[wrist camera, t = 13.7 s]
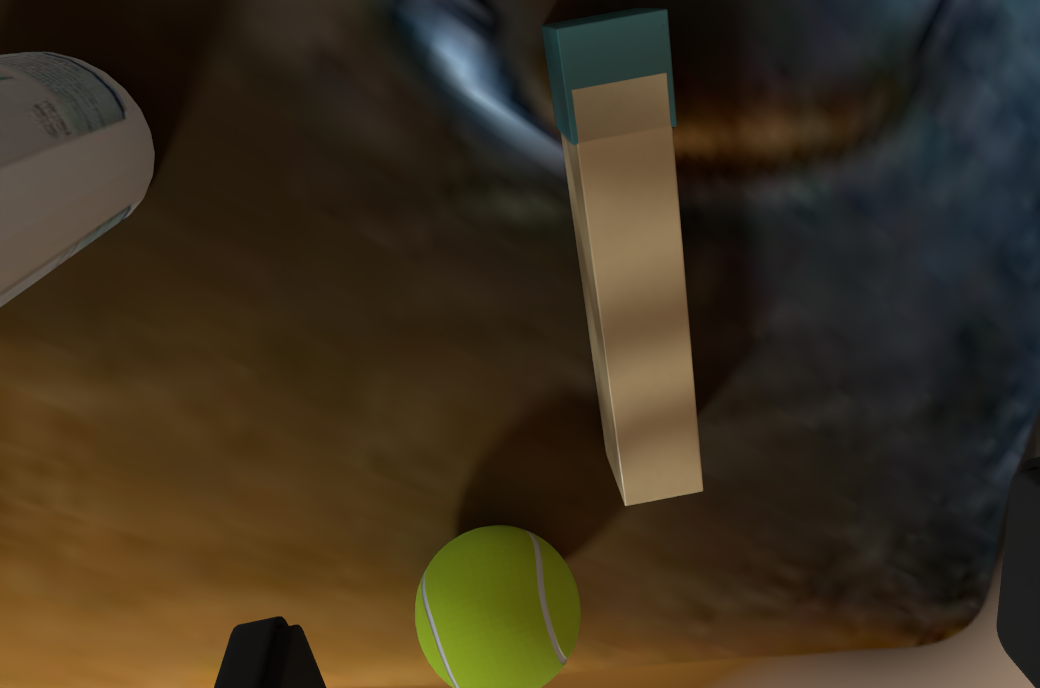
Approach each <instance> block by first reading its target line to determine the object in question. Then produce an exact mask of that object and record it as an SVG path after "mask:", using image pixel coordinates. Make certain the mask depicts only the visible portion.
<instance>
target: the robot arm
mask: <svg viewBox="0 0 1040 688" xmlns="http://www.w3.org/2000/svg"><path fill="white" fill-rule="evenodd" d="M997 632H998V637H999V639H1000V642H1001V644H1002V646H1003V648H1004V650H1005V651H1006V653H1007V654H1008V655H1009V657H1010V658H1011V659H1012V660H1013V662H1014V663H1015V664H1016V665H1017V666H1018V668H1019V669H1020V670H1021V671H1022V672H1023V673H1024V675H1025V676H1026V677H1027V678H1028V679H1029V680H1030V682H1031V683H1032V684H1033V685H1034V687H1035V688H1040V457H1036V458H1032V459H1029V460H1026V461H1025V462H1024V463H1023V465H1022V467H1021V471H1020V473H1017V474H1015V475H1014V476H1013V477H1012V481H1011V487H1010V496H1009V506H1008V516H1007V526H1006V536H1005V547H1004V556H1003V566H1002V576H1001V586H1000V596H999V606H998V616H997ZM214 688H326V686H325V683H324V681H323V678H322V676H321V673H320V671H319V668H318V666H317V663H316V661H315V659H314V656H313V654H312V651H311V649H310V646H309V644H308V641H307V639H306V636H305V634H304V631H303V629H302V628H301V626H300V625H292V626H288V624H287V622H286V620H285V619H284V618H283V617H279V616H278V617H273V618H269V619H264V620H259V621H254V622H250V623H245V624H240V625H237V626H236V627H235V628H234V629H233V631H232V633H231V636H230V639H229V642H228V645H227V648H226V651H225V655H224V658H223V661H222V664H221V667H220V670H219V674H218V677H217V680H216V683H215V686H214Z"/></svg>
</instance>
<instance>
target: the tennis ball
mask: <svg viewBox="0 0 1040 688" xmlns="http://www.w3.org/2000/svg"><path fill="white" fill-rule="evenodd" d="M580 611H581V610H580V599H579V594H578V589H577V586H576V583H575V580H574V577H573V575H572V573H571V571H570V569H569V567H568V566H567V564H566V562H565V561H564V560H563V558H562V557H561V556H560V554H559V553H558V552H557V551H556V550H555V549H554V548H553V547H552V546H551V545H550V544H549V543H547V542H546V541H545V540H543V539H542V538H540V537H539V536H537V535H535V534H533V533H531V532H529V531H527V530H524V529H520V528H517V527H513V526H505V525H494V526H486V527H481V528H477V529H474V530H471V531H468V532H466V533H464V534H462V535H460V536H458V537H456V538H455V539H453V540H452V541H450V542H449V543H448V544H446V545H445V546H444V547H443V548H442V549H441V550H440V551H439V552H438V553H437V554H436V555H435V556H434V558H433V559H432V560H431V562H430V563H429V565H428V567H427V568H426V570H425V572H424V574H423V576H422V579H421V581H420V584H419V588H418V591H417V596H416V603H415V623H416V630H417V635H418V638H419V642H420V645H421V648H422V650H423V652H424V654H425V656H426V658H427V660H428V662H429V663H430V665H431V666H432V668H433V669H434V670H435V672H436V673H437V674H438V675H439V676H440V677H441V678H442V679H443V680H444V681H445V682H446V683H447V684H449V685H450V686H451V687H453V688H540V687H542V686H544V685H545V684H546V683H548V682H549V681H550V680H551V679H552V678H553V677H555V676H556V675H557V674H558V672H559V671H560V670H561V669H562V668H563V666H564V665H565V664H566V662H567V658H569V657H570V655H571V654H572V652H573V649H574V647H575V644H576V641H577V637H578V632H579V627H580Z"/></svg>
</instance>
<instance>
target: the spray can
mask: <svg viewBox="0 0 1040 688" xmlns="http://www.w3.org/2000/svg"><path fill="white" fill-rule="evenodd" d="M154 157H155V152H154V147H153V141H152V136H151V131H150V129H149V127H148V124H147V122H146V120H145V118H144V116H143V113H142V111H141V109H140V108H139V107H138V105H137V104H136V103H135V101H134V100H133V99H132V97H131V96H130V95H129V94H128V92H127V91H126V90H125V89H124V88H123V87H122V86H121V85H120V84H118V83H117V82H116V81H115V80H114V79H112V78H111V77H110V76H109V75H108V74H106V73H105V72H104V71H102V70H100V69H98V68H96V67H94V66H92V65H90V64H88V63H86V62H84V61H82V60H79V59H77V58H73V57H69V56H64V55H60V54H56V53H52V52H23V53H15V54H5V55H0V307H1V306H3V305H4V304H5V303H7V302H8V301H10V300H11V299H12V298H14V297H15V296H17V295H18V294H19V293H21V292H22V291H24V290H25V289H26V288H28V287H29V286H31V285H32V284H33V283H35V282H36V281H38V280H39V279H40V278H42V277H43V276H45V275H46V274H47V273H49V272H50V271H52V270H53V269H54V268H56V267H57V266H59V265H60V264H61V263H63V262H64V261H66V260H67V259H68V258H70V257H71V256H73V255H74V254H75V253H77V252H78V251H80V250H81V249H82V248H84V247H85V246H87V245H88V244H89V243H91V242H92V241H94V240H95V239H96V238H98V237H99V236H101V235H102V234H103V233H105V232H106V231H108V230H109V229H110V228H112V227H113V226H115V225H116V224H117V223H119V222H120V221H122V220H123V219H124V218H126V217H127V216H129V215H130V214H131V213H132V212H133V210H134V209H135V208H136V207H137V206H138V204H139V203H140V202H141V201H142V200H143V198H144V196H145V194H146V191H147V189H148V186H149V184H150V181H151V179H152V176H153V169H154Z"/></svg>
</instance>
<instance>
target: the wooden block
mask: <svg viewBox="0 0 1040 688" xmlns="http://www.w3.org/2000/svg"><path fill="white" fill-rule="evenodd" d="M542 33H543V40H544V47H545V54H546V61H547V68H548V75H549V82H550V89H551V96H552V103H553V110H554V117H555V124H556V128H557V129H558V130H559V131H560V132H561V137H562V144H563V151H564V158H565V165H566V172H567V180H568V187H569V194H570V201H571V208H572V215H573V222H574V229H575V236H576V243H577V250H578V258H579V265H580V272H581V279H582V286H583V293H584V300H585V307H586V314H587V321H588V329H589V336H590V343H591V350H592V357H593V364H594V371H595V378H596V385H597V392H598V399H599V407H600V414H601V421H602V428H603V435H604V442H605V449H606V455H607V458H608V460H609V463H610V466H611V469H612V471H613V474H614V477H615V479H616V482H617V485H618V488H619V490H620V493H621V496H622V499H623V501H624V504H625V506H628V505H633V504H639V503H644V502H649V501H654V500H659V499H665V498H670V497H675V496H680V495H685V494H690V493H696V492H701V491H703V483H702V471H701V459H700V447H699V435H698V423H697V412H696V400H695V388H694V376H693V364H692V352H691V340H690V329H689V317H688V305H687V293H686V281H685V269H684V258H683V246H682V234H681V222H680V210H679V198H678V186H677V175H676V163H675V151H674V139H673V127H676V126H677V120H676V108H675V95H674V83H673V71H672V59H671V47H670V34H669V22H668V11H667V9H656V8H633V9H627V10H622V11H616V12H611V13H605V14H600V15H594V16H589V17H583V18H578V19H572V20H567V21H561V22H556V23H551V24H545V25H542Z"/></svg>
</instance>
